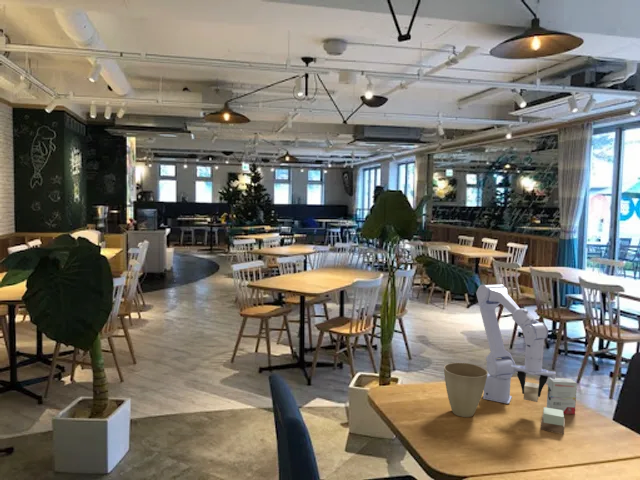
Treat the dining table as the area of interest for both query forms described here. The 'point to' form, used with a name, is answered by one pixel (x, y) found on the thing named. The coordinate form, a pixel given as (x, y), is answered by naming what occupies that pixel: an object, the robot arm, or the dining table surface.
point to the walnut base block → (552, 427)
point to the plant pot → (464, 387)
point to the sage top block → (553, 416)
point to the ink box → (562, 394)
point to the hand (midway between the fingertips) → (531, 394)
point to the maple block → (531, 391)
